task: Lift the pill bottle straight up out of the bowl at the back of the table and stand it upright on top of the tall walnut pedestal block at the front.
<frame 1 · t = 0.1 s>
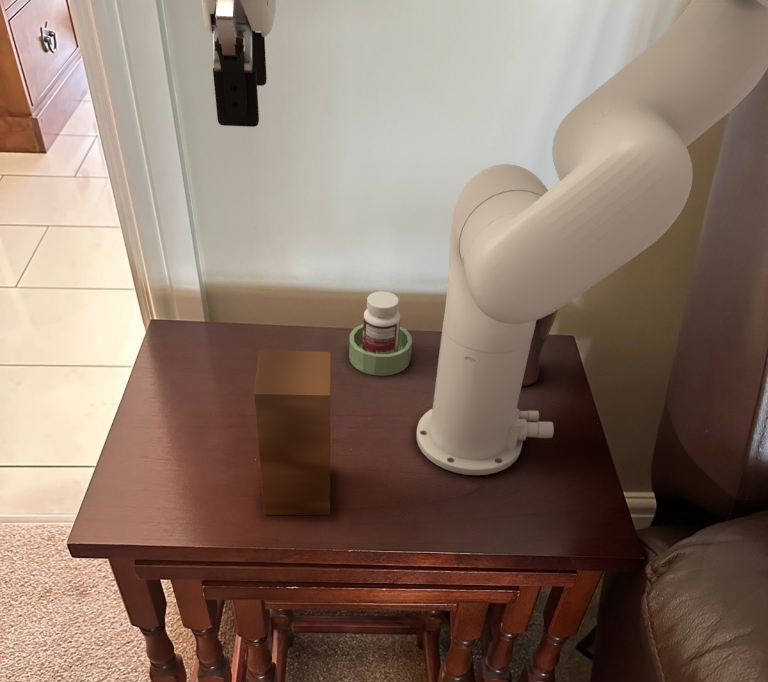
hand: (243, 103, 65), 37 cm above the table, tool pointing down, fingers open, 9 cm apart
pedestal: (298, 492, 85), on the table
pill bottle: (379, 356, 104), resting on bowl
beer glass: (515, 374, 103), on the table
bowl: (379, 357, 104), on the table
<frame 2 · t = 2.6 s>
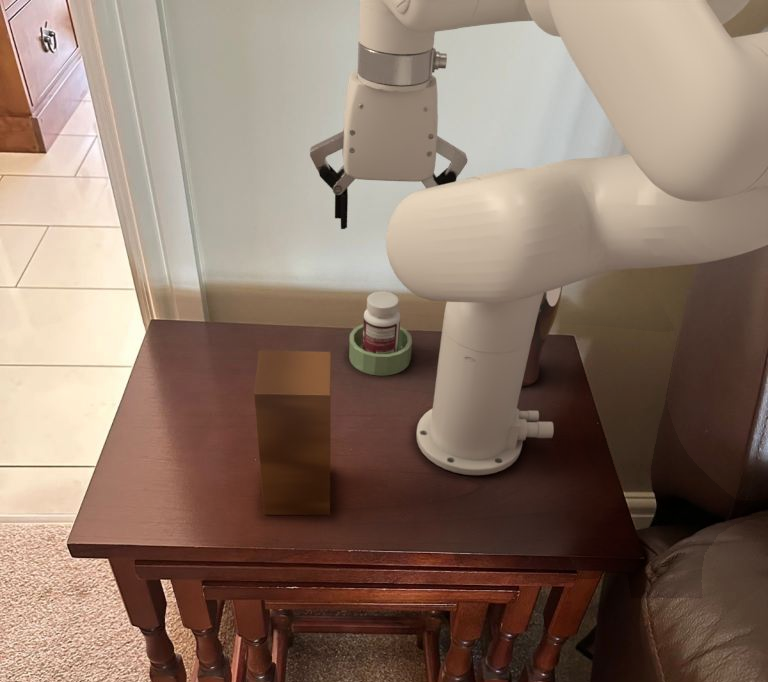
hand: (384, 225, 91), 18 cm above the table, tool pointing down, fingers open, 9 cm apart
nothing on the table moved.
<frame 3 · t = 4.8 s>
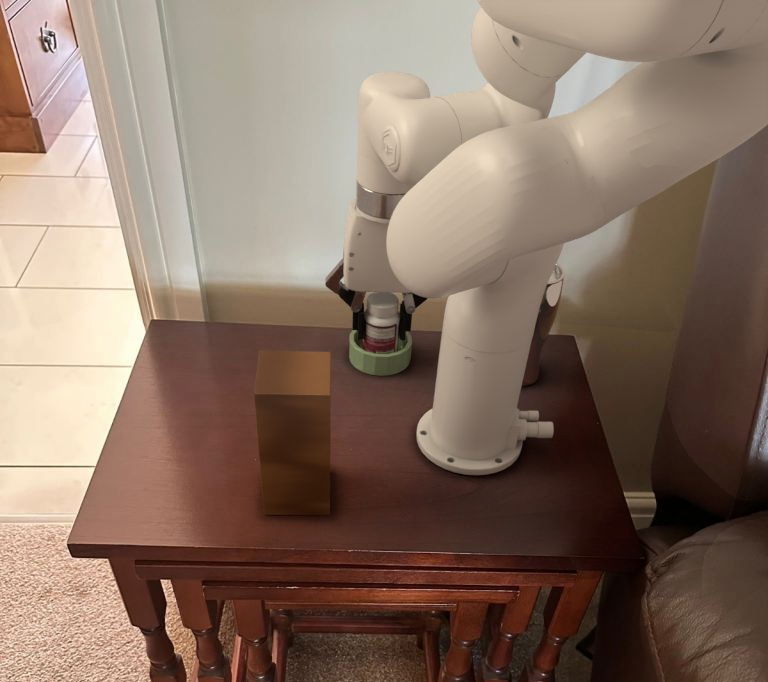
hand: (381, 333, 101), 4 cm above the table, tool pointing down, fingers closed on pill bottle, 4 cm apart
pill bottle: (379, 356, 104), resting on bowl, touching gripper
everything else where it was.
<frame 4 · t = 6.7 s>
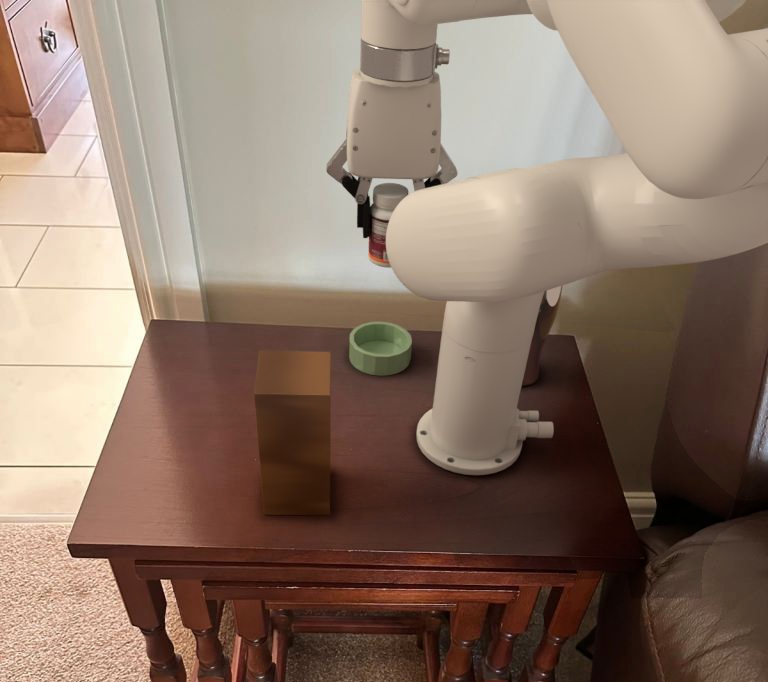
hand: (388, 232, 91), 18 cm above the table, tool pointing down, fingers closed on pill bottle, 4 cm apart
pill bottle: (387, 260, 94), point 14 cm above the table, touching gripper
everything else where it was.
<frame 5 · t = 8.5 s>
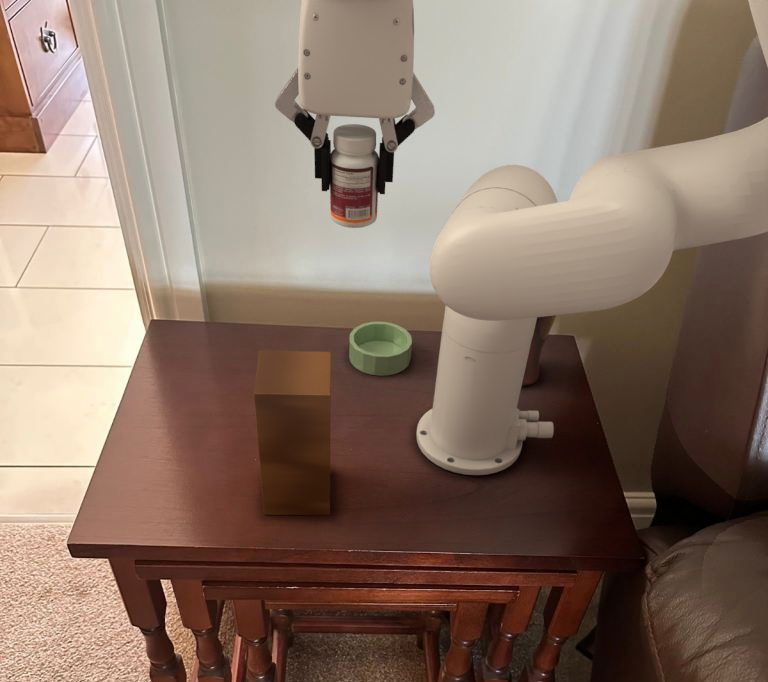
hand: (353, 185, 76), 28 cm above the table, tool pointing down, fingers closed on pill bottle, 4 cm apart
pill bottle: (353, 220, 79), point 24 cm above the table, touching gripper
everything else where it was.
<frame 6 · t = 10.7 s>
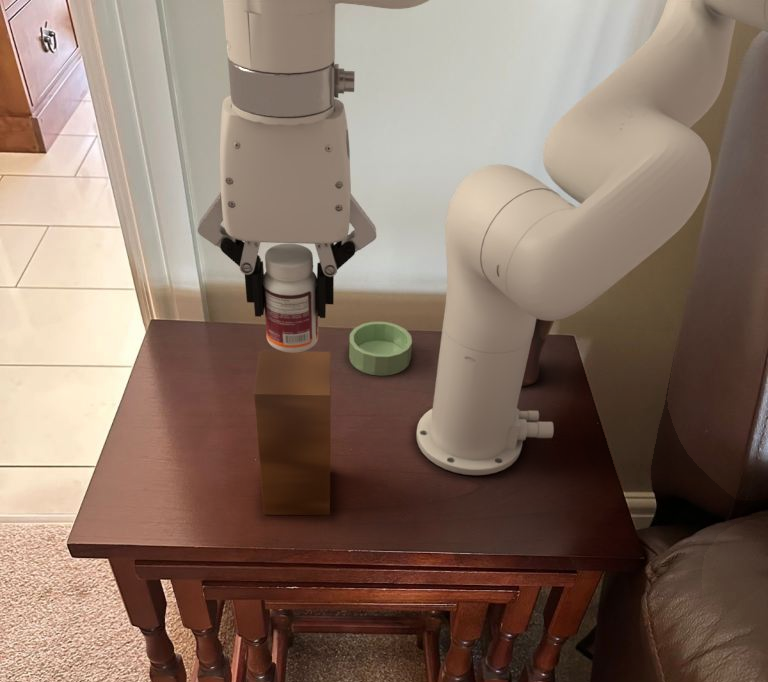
hand: (291, 307, 69), 23 cm above the table, tool pointing down, fingers closed on pill bottle, 4 cm apart
pill bottle: (292, 341, 72), point 19 cm above the table, touching gripper
everything else where it was.
when the fingers open (19 cm above the table, at t = 12.1 s): pill bottle stays where it is, resting on pedestal.
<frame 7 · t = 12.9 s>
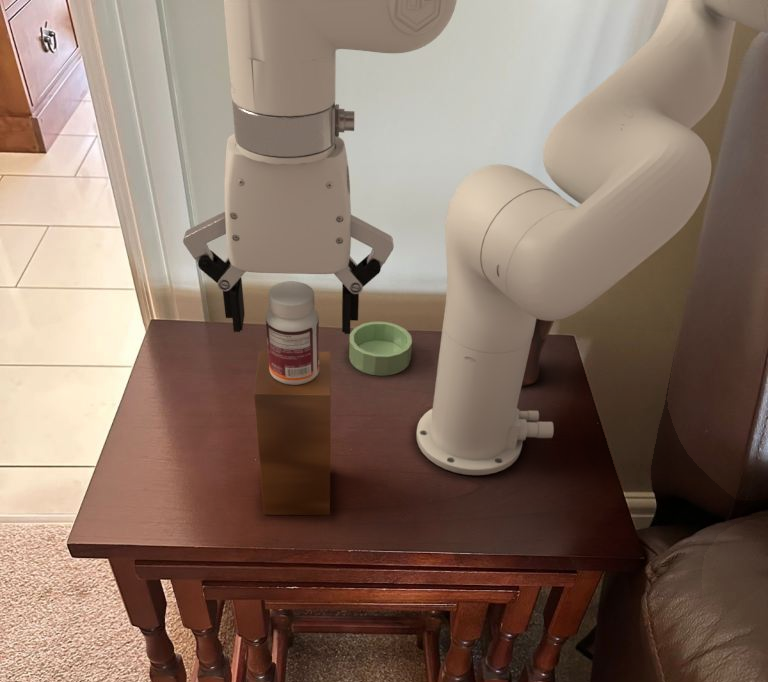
hand: (293, 324, 70), 21 cm above the table, tool pointing down, fingers open, 9 cm apart
pill bottle: (294, 373, 74), point 16 cm above the table, touching pedestal
everything else where it was.
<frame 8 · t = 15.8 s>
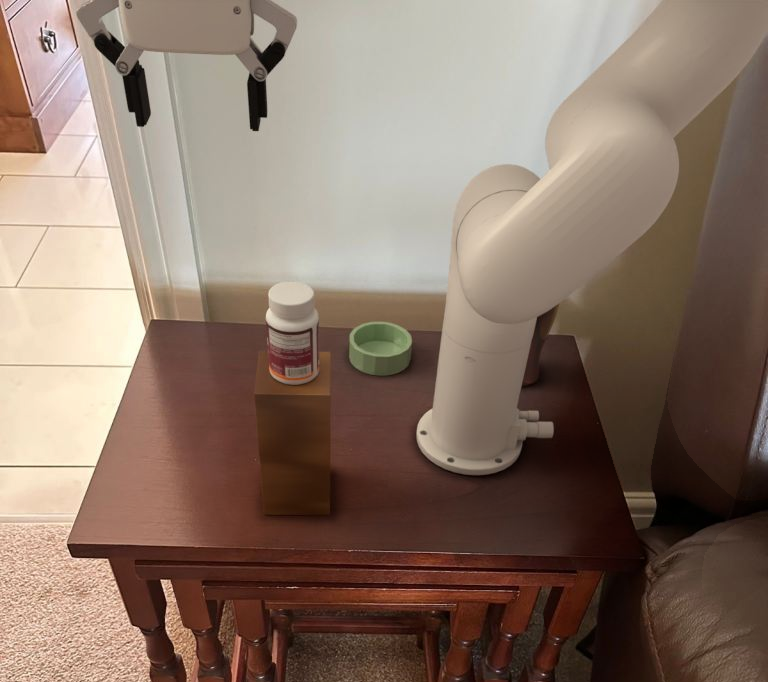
hand: (200, 123, 68), 34 cm above the table, tool pointing down, fingers open, 9 cm apart
nothing on the table moved.
at the end: pill bottle touching pedestal; pill bottle 0.1 cm off-centre on the pedestal, point 15.8 cm above the pedestal's base; pill bottle tilted 0° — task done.
